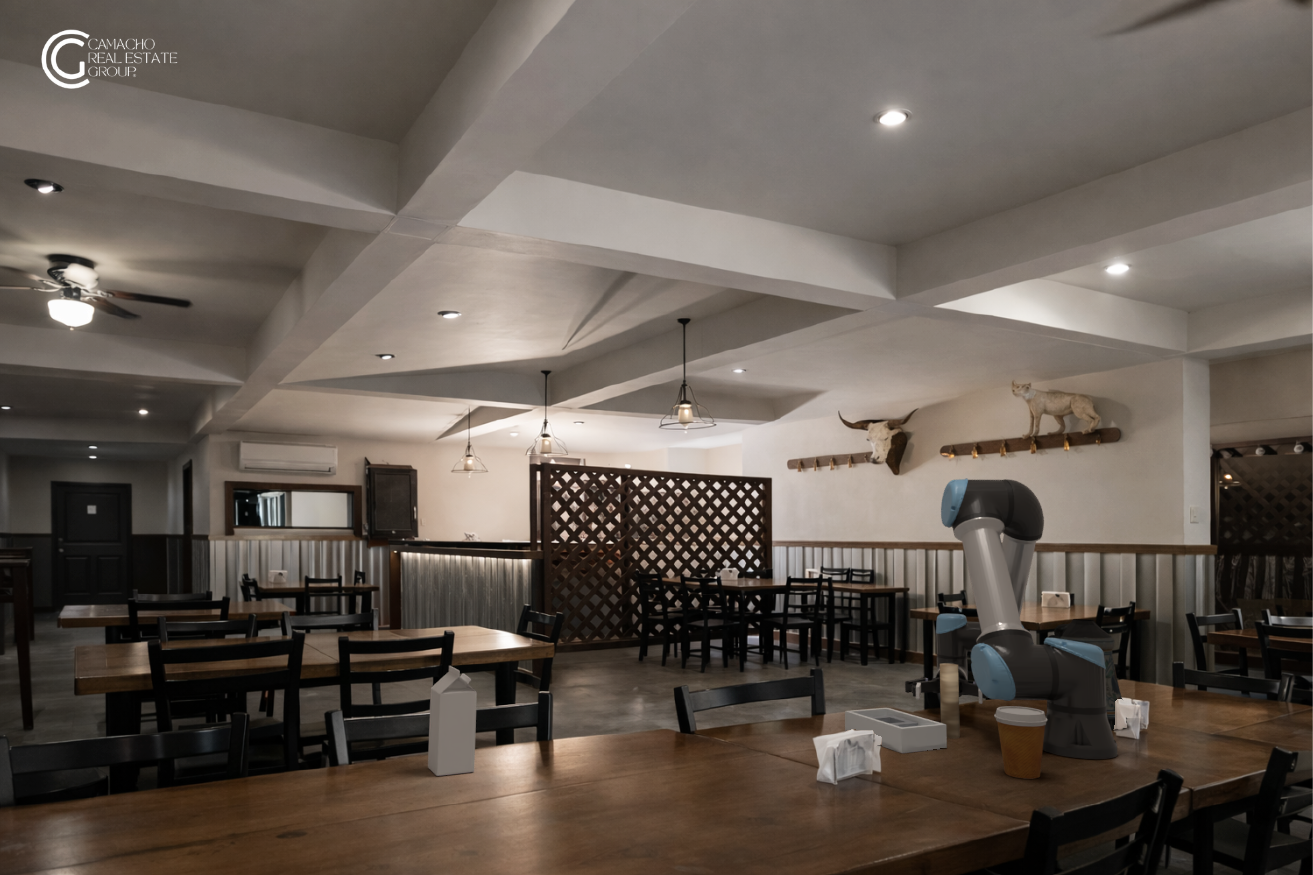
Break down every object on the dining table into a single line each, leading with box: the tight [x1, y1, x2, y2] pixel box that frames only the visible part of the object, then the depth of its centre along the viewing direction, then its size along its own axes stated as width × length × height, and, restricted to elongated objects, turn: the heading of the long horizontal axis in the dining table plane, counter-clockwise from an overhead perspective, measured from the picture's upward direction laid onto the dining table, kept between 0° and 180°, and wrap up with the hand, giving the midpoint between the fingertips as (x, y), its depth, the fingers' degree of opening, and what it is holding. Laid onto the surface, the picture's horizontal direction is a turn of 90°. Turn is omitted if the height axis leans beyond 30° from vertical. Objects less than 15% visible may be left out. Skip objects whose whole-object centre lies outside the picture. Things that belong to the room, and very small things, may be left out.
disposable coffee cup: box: [994, 705, 1047, 780], centre depth 174 cm, size 10×10×12 cm
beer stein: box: [1043, 618, 1123, 731], centre depth 224 cm, size 16×19×25 cm
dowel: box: [939, 663, 961, 739], centre depth 207 cm, size 4×4×16 cm
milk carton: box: [427, 665, 478, 777], centre depth 173 cm, size 7×7×19 cm
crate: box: [844, 707, 948, 754], centre depth 201 cm, size 20×12×5 cm, turn 24°
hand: (948, 695), depth 205 cm, fingers open, 13 cm apart
